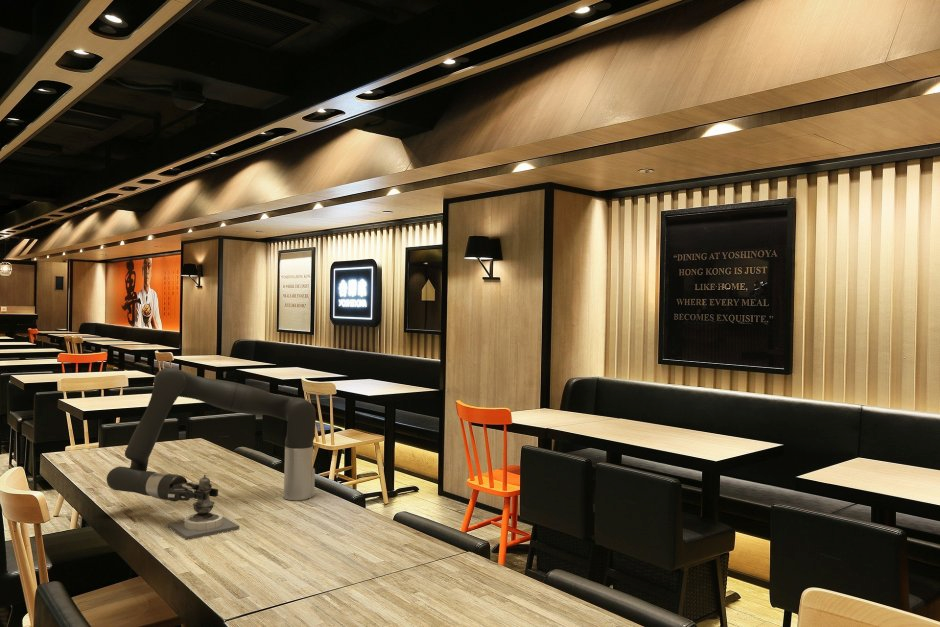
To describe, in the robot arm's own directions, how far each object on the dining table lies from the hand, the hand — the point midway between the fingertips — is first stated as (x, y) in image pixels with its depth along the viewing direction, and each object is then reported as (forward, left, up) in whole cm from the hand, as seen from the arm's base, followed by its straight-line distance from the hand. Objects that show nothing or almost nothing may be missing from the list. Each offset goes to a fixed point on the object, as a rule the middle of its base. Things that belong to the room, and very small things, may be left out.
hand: (211, 494), depth 195 cm
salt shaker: (+1, -3, -7) cm, 7 cm away
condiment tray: (+1, -2, -10) cm, 10 cm away
